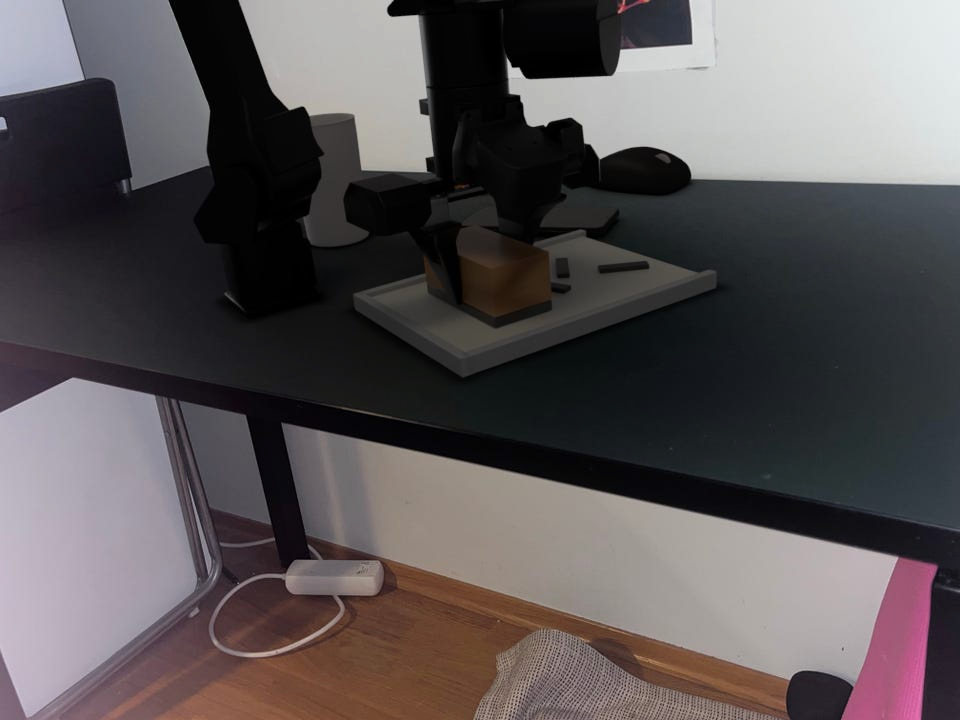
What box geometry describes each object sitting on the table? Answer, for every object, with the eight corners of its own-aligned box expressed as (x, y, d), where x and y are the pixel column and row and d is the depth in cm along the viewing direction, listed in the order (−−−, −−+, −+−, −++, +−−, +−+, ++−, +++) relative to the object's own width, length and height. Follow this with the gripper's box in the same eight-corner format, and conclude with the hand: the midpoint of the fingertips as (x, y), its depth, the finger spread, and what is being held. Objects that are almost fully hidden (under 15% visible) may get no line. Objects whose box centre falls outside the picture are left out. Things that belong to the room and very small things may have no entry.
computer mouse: (606, 173, 105) (605, 139, 103) (698, 181, 98) (699, 145, 96) (572, 188, 100) (570, 153, 98) (666, 197, 93) (666, 160, 91)
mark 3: (649, 269, 70) (649, 264, 70) (599, 273, 70) (599, 269, 70) (646, 265, 71) (646, 260, 71) (597, 269, 71) (597, 265, 71)
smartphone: (481, 206, 92) (620, 207, 87) (482, 215, 93) (620, 216, 87) (455, 225, 87) (602, 227, 81) (456, 234, 87) (603, 237, 81)
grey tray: (462, 378, 57) (460, 358, 56) (354, 309, 70) (352, 293, 70) (716, 288, 68) (717, 271, 67) (581, 243, 81) (581, 229, 80)
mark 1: (557, 278, 70) (557, 274, 70) (555, 262, 73) (555, 258, 73) (569, 277, 70) (569, 273, 70) (567, 261, 73) (567, 257, 73)
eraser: (495, 328, 61) (490, 268, 60) (427, 293, 69) (420, 238, 67) (552, 310, 64) (549, 251, 62) (480, 277, 72) (475, 224, 70)
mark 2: (564, 294, 66) (564, 289, 66) (521, 286, 69) (521, 281, 69) (571, 290, 67) (571, 285, 67) (528, 282, 70) (528, 277, 69)
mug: (385, 231, 90) (368, 113, 85) (344, 250, 85) (324, 126, 80) (311, 224, 95) (291, 112, 90) (268, 242, 90) (245, 125, 85)
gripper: (400, 114, 49) (431, 364, 56) (650, 69, 58) (651, 290, 64) (324, 100, 58) (358, 316, 65) (550, 62, 66) (560, 257, 73)
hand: (486, 294), depth 66 cm, fingers closed on eraser, 5 cm apart
